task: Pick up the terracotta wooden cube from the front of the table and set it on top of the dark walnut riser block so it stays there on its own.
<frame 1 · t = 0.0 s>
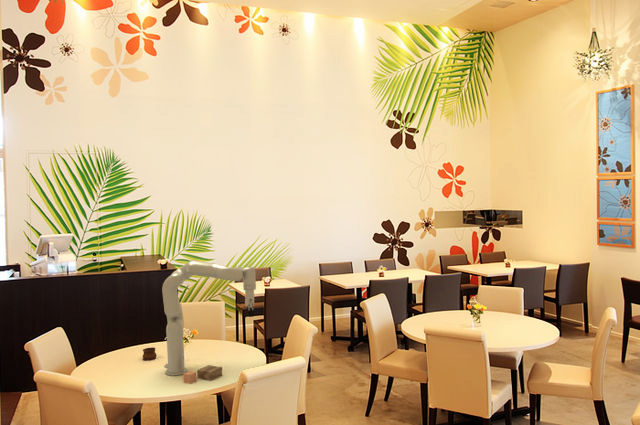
hand: (250, 314, 320), 31 cm above the table, tool pointing down, fingers open, 9 cm apart
terracotta cube: (190, 381, 295), on the table
walnut riser: (209, 377, 302), on the table
brown pouch: (149, 359, 342), on the table
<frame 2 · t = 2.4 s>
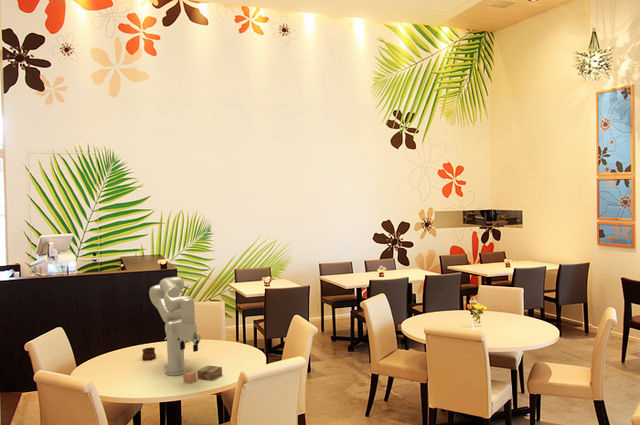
hand: (189, 350, 294), 18 cm above the table, tool pointing down, fingers open, 9 cm apart
nothing on the table moved.
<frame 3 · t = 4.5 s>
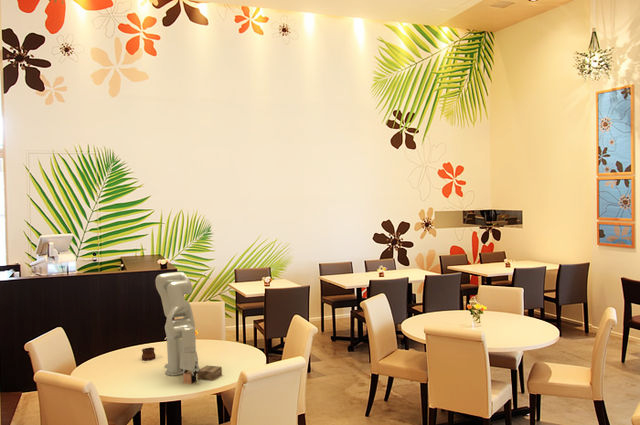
hand: (190, 380, 295), 0 cm above the table, tool pointing down, fingers closed on terracotta cube, 5 cm apart
terracotta cube: (190, 381, 295), on the table, touching gripper
everything else where it was.
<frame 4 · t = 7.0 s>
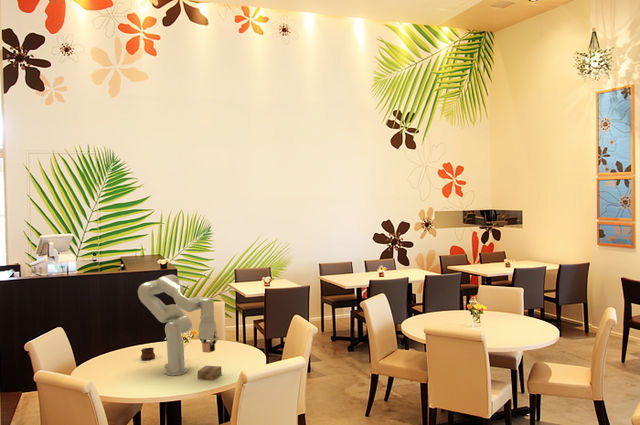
hand: (208, 350, 301), 15 cm above the table, tool pointing down, fingers closed on terracotta cube, 5 cm apart
terracotta cube: (208, 351, 301), point 15 cm above the table, touching gripper
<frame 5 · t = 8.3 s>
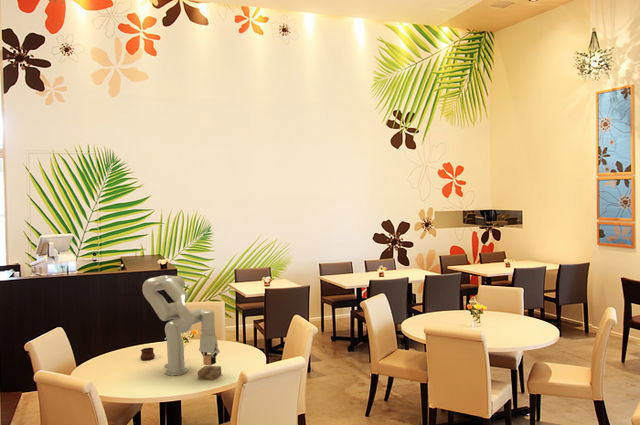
hand: (209, 363, 302), 8 cm above the table, tool pointing down, fingers closed on terracotta cube, 5 cm apart
terracotta cube: (209, 363, 302), point 8 cm above the table, touching gripper
when the fingers open (7 cm above the table, at t = 9.3 s): terracotta cube drops 2 cm, point 5 cm above the table.
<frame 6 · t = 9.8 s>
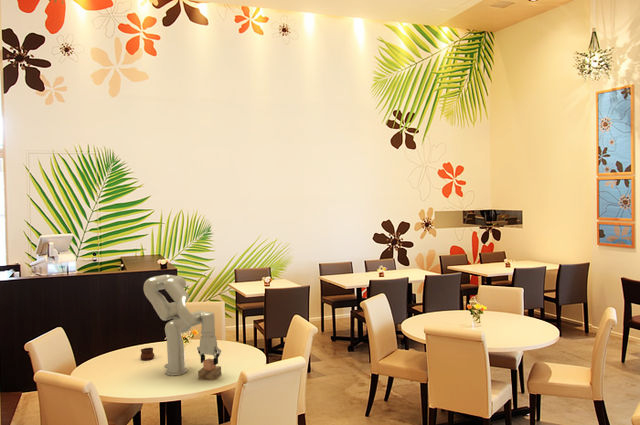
hand: (209, 363, 302), 8 cm above the table, tool pointing down, fingers open, 9 cm apart
terracotta cube: (209, 368, 302), point 5 cm above the table
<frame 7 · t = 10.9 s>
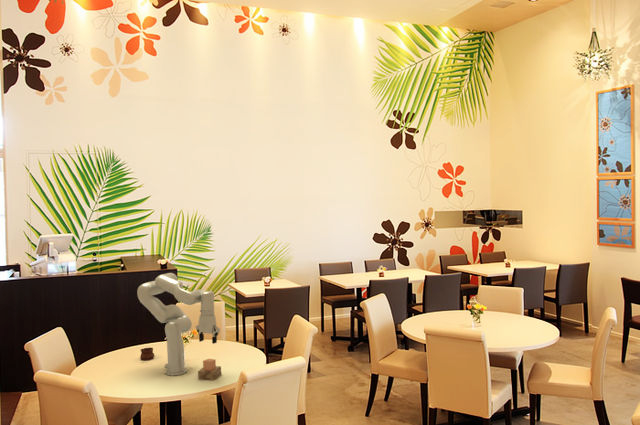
hand: (208, 342, 302), 20 cm above the table, tool pointing down, fingers open, 9 cm apart
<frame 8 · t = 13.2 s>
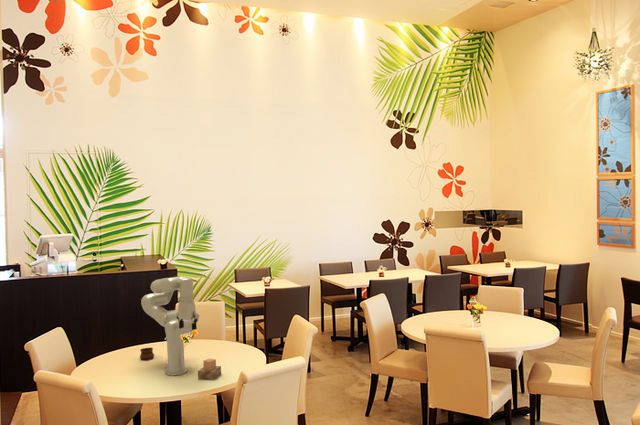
hand: (187, 328, 301), 28 cm above the table, tool pointing down, fingers open, 9 cm apart
at the end: terracotta cube 0.3 cm off-centre on the walnut riser, point 5.0 cm above the walnut riser's base; terracotta cube touching nothing; terracotta cube tilted 0° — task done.
